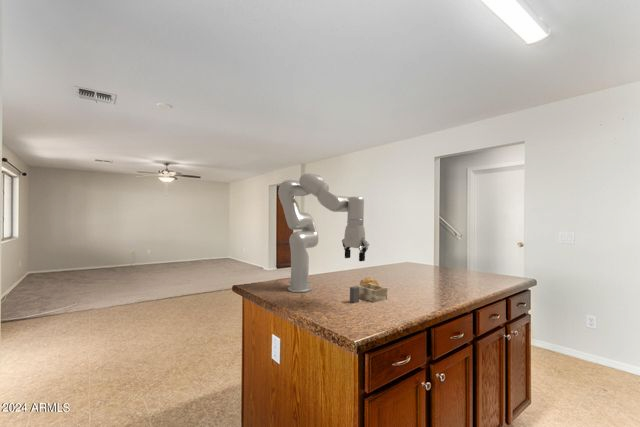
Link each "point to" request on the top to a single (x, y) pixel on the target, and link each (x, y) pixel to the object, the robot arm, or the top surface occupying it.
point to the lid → (354, 294)
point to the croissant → (369, 281)
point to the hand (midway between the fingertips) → (354, 259)
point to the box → (372, 292)
